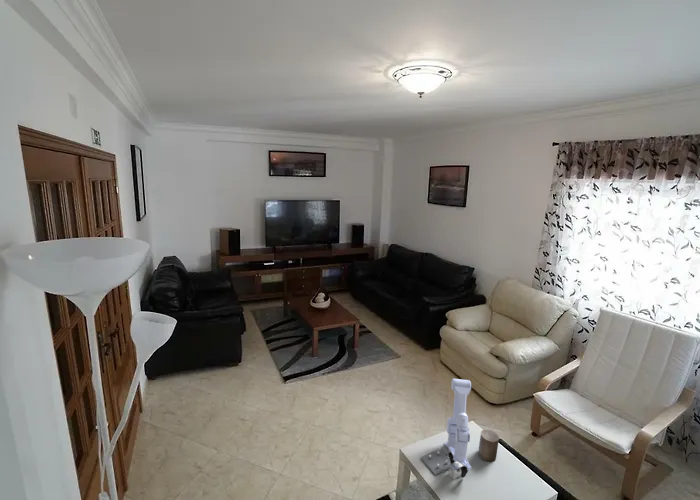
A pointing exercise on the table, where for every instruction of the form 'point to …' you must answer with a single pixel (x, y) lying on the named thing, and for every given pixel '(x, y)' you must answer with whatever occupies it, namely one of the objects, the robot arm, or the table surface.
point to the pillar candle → (488, 445)
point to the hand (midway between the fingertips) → (457, 471)
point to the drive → (455, 470)
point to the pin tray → (437, 461)
